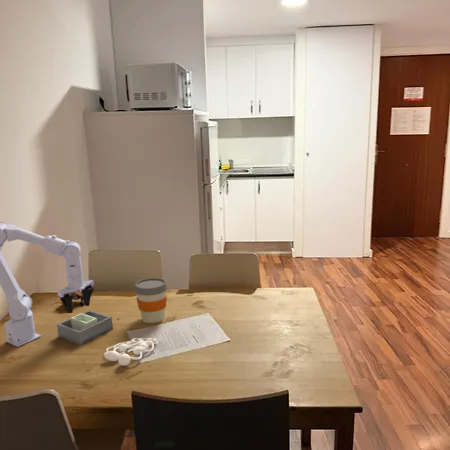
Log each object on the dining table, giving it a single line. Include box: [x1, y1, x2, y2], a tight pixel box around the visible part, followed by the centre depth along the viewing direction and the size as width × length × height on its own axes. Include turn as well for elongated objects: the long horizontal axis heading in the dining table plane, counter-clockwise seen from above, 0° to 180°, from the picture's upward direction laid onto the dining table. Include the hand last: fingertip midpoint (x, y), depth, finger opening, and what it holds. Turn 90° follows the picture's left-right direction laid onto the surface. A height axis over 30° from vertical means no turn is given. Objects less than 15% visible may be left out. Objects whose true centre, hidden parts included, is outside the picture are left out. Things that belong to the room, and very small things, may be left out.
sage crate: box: [70, 312, 97, 331], centre depth 168 cm, size 5×9×5 cm, turn 55°
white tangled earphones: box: [103, 337, 159, 367], centre depth 153 cm, size 19×14×4 cm
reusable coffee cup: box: [134, 277, 168, 324], centre depth 178 cm, size 13×13×15 cm
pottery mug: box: [59, 290, 84, 307], centre depth 197 cm, size 12×10×8 cm
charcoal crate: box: [56, 309, 114, 346], centre depth 168 cm, size 15×13×5 cm
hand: (78, 309), depth 168 cm, fingers open, 7 cm apart
